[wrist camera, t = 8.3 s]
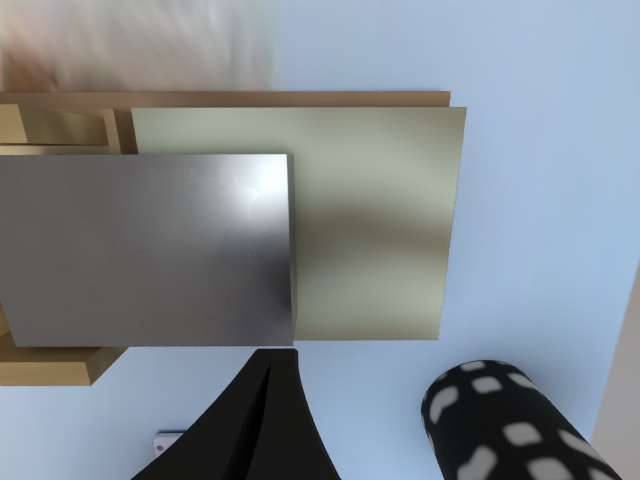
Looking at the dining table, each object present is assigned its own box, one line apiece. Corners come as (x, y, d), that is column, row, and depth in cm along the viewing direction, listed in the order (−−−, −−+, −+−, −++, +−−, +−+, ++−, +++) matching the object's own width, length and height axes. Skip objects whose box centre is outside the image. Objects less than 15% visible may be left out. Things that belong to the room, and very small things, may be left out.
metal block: (297, 311, 16) (292, 346, 13) (71, 311, 16) (16, 346, 13) (293, 154, 14) (286, 154, 11) (29, 154, 14) (-48, 155, 11)
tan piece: (418, 324, 20) (467, 410, 13) (-30, 325, 20) (-206, 412, 13) (441, 95, 16) (527, 54, 9) (-115, 96, 16) (-425, 56, 9)
